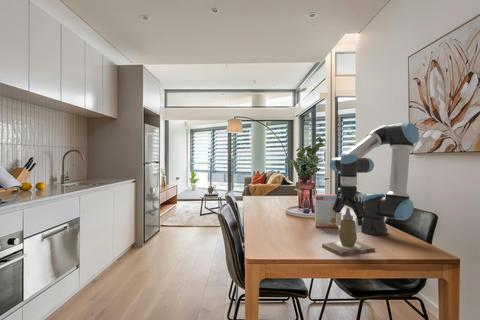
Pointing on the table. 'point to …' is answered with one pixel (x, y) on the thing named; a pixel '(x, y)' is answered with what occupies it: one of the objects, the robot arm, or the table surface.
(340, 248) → the walnut board
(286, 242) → the table surface
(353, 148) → the robot arm
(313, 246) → the table surface
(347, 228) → the squeeze bottle
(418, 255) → the table surface
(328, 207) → the cracker box
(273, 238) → the table surface
